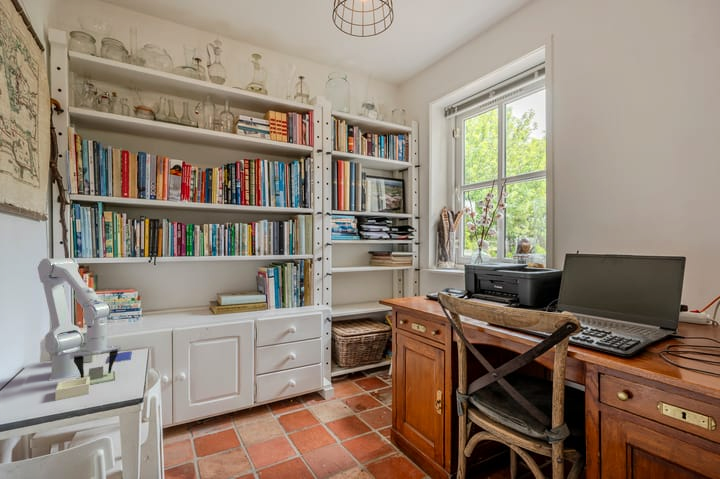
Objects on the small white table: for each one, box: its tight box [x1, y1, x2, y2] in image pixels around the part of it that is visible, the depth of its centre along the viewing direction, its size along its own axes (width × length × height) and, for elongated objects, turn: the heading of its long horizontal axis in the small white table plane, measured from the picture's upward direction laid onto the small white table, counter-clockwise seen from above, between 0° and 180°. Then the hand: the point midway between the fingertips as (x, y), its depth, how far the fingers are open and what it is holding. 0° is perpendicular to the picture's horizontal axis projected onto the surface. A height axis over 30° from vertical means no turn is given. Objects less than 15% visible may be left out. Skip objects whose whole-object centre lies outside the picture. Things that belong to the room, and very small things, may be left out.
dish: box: [55, 377, 91, 401], centre depth 109 cm, size 8×8×4 cm
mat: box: [76, 370, 116, 386], centre depth 120 cm, size 11×11×1 cm
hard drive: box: [106, 350, 133, 365], centre depth 144 cm, size 2×8×12 cm
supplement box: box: [78, 328, 98, 364], centre depth 142 cm, size 7×7×13 cm
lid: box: [77, 365, 114, 386], centre depth 120 cm, size 10×10×4 cm
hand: (96, 375), depth 120 cm, fingers open, 7 cm apart
